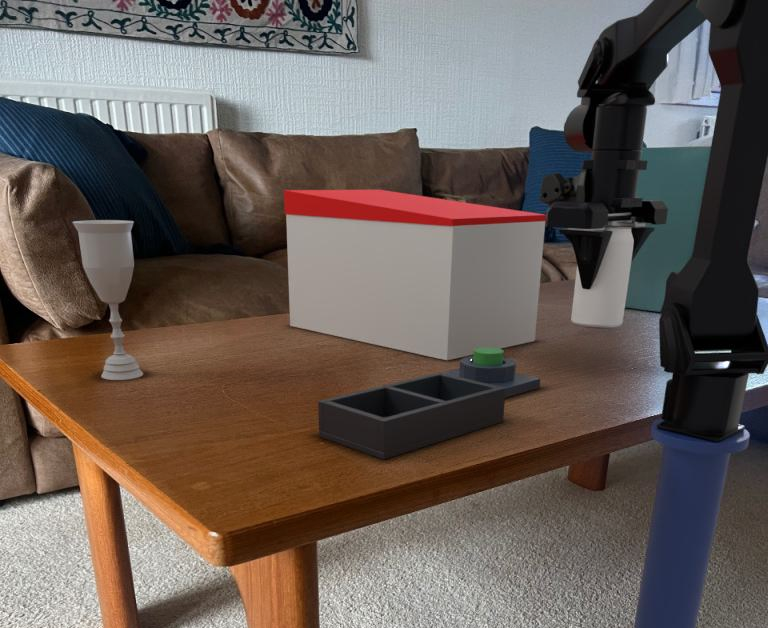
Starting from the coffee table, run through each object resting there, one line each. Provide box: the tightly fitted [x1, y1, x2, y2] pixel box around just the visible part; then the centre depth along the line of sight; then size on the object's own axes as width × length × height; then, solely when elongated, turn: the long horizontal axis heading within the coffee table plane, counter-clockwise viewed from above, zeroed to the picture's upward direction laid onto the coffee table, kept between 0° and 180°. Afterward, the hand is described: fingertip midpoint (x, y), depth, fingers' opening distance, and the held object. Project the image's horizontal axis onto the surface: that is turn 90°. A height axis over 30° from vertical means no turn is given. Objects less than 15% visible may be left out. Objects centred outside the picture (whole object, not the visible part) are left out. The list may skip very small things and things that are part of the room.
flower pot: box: [607, 145, 711, 313], centre depth 146 cm, size 20×20×28 cm
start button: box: [472, 347, 505, 366], centre depth 93 cm, size 4×4×2 cm
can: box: [570, 225, 634, 330], centre depth 98 cm, size 6×6×12 cm
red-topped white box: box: [283, 189, 547, 361], centre depth 121 cm, size 21×35×21 cm, turn 45°
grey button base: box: [441, 355, 541, 399], centre depth 94 cm, size 10×8×3 cm
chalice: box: [72, 219, 144, 381], centre depth 94 cm, size 7×7×18 cm
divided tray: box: [317, 372, 506, 460], centre depth 78 cm, size 9×17×4 cm, turn 134°
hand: (600, 286), depth 99 cm, fingers closed on can, 6 cm apart
